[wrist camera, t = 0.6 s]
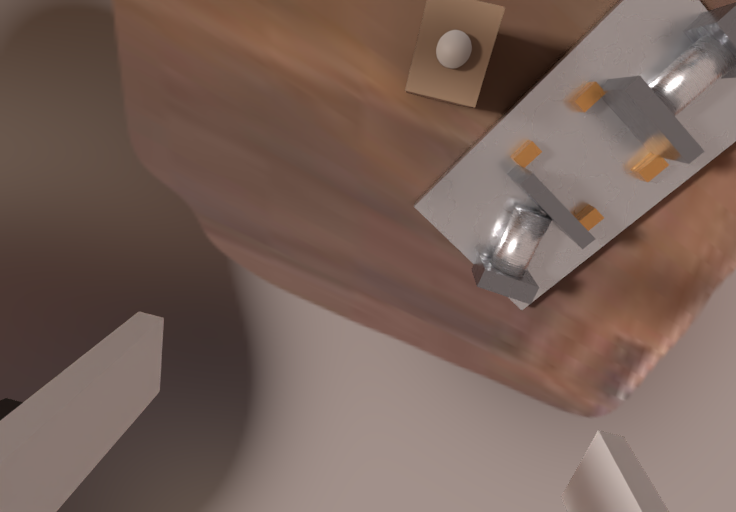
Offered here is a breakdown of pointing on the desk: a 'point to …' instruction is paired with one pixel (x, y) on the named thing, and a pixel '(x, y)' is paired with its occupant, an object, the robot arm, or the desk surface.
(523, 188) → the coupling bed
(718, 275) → the desk surface
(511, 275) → the shaft
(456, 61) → the block
